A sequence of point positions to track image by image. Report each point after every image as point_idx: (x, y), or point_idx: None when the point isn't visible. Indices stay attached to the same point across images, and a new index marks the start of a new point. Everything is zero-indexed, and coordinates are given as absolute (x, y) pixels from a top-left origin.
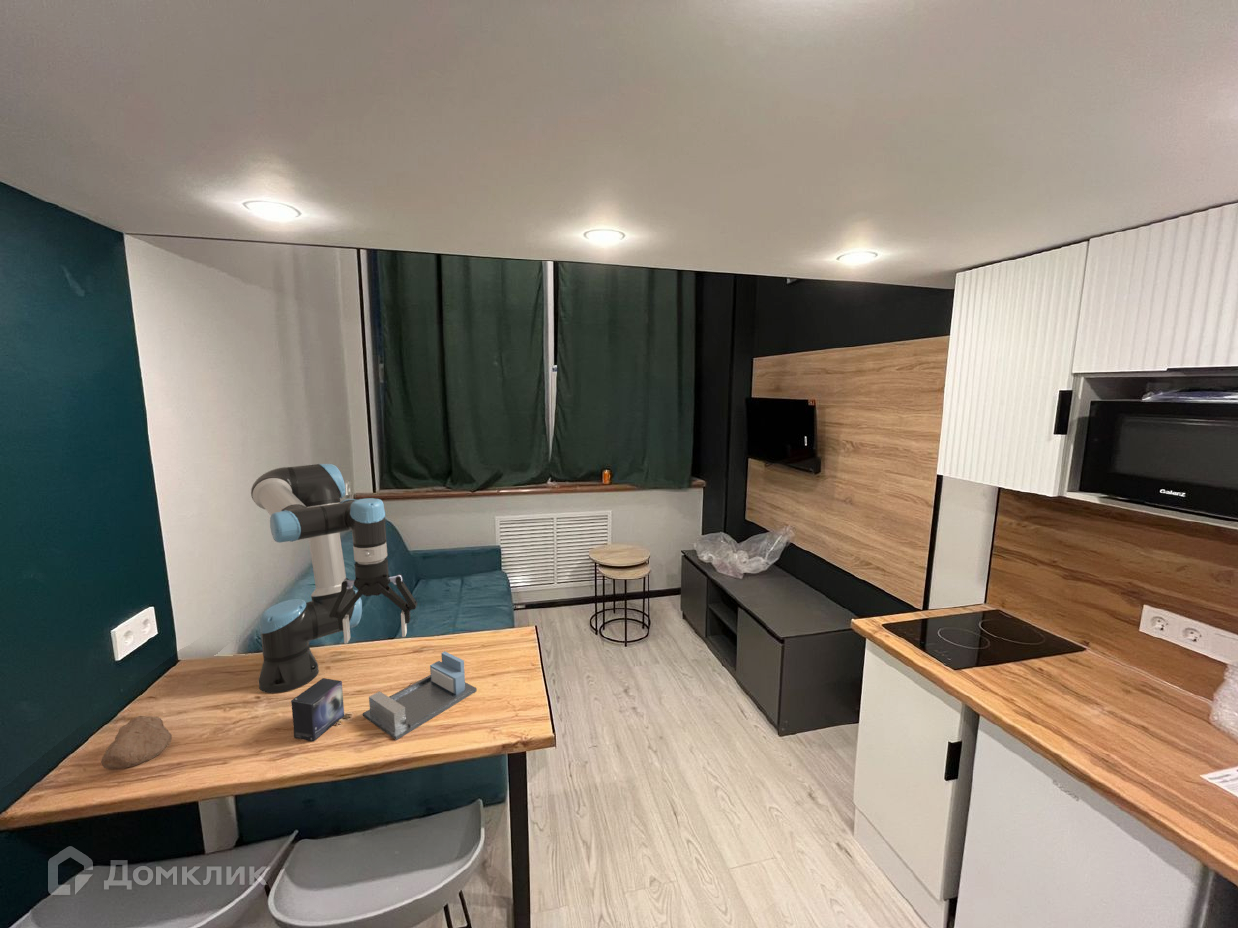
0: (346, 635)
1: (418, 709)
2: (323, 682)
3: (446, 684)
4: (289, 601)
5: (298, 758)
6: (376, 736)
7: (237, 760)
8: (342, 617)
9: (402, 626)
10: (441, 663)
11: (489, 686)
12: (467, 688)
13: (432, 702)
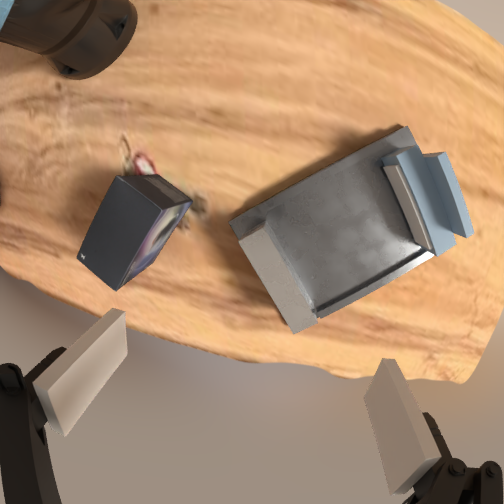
0: (107, 376)
1: (342, 262)
2: (119, 203)
3: (412, 224)
4: None
5: (140, 296)
6: (258, 300)
7: (67, 257)
8: (44, 435)
9: (378, 436)
10: (422, 162)
11: None
12: None
13: (372, 250)
